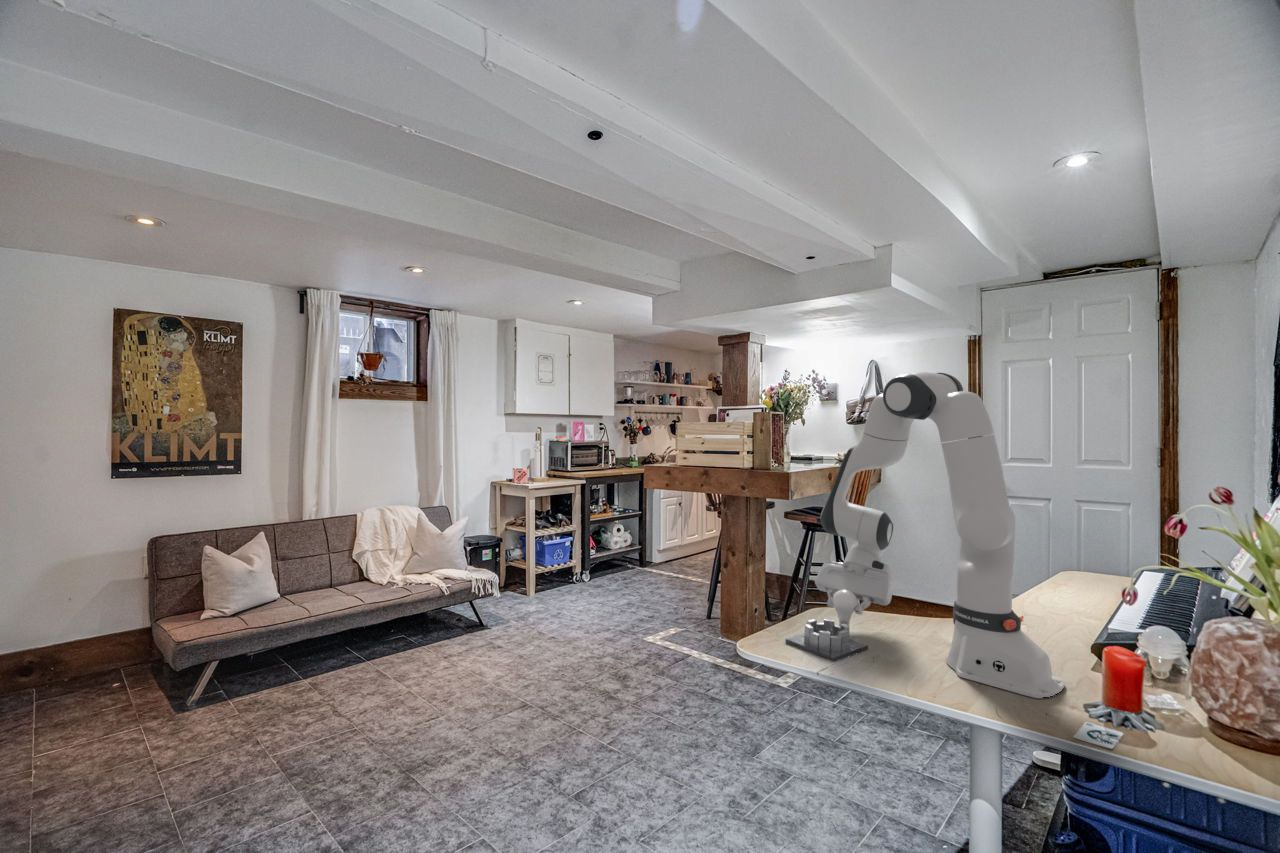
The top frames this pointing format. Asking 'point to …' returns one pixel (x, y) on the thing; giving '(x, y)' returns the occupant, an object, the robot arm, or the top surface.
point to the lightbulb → (844, 605)
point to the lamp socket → (827, 640)
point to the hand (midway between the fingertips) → (843, 609)
